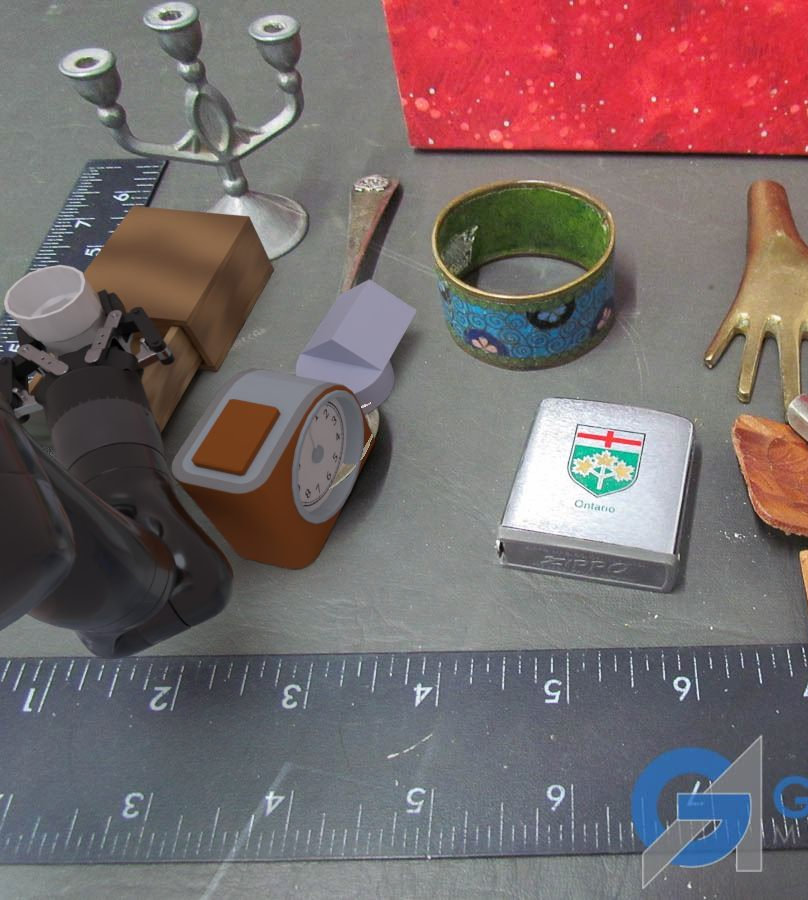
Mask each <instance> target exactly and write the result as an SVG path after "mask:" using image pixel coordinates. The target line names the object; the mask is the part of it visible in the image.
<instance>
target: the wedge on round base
mask: <svg viewBox="0 0 808 900" xmlns="http://www.w3.org/2000/svg"><path fill="white" fill-rule="evenodd" d="M417 312H418V310H417V309H415V308H414V307H412V306H411V305H410V304H409V303H406V302H405V301H404V300H402V299H400V298H399V297H397V296H396V295H394V294H392V293H391V292H390V291H388V290H386V289H385V288H384V287H382V286H380V285H379V284H377V283H376V282H374V281H373V280H372V279H370V278H369V279H367V280H365V281H363V282H361V283H359V284H358V285H356V286H354V287H352V288H350V289H348V290H346V291H344V292H342V293H341V294H338V296H337V298H336V299H335V300H334V302H333V303H332V305H331V307H330V308H329V309H328V311H327V313H326V314H325V316H324V317H323V318H322V320H321V322H320V324H319V325H318V327H317V328H316V330H315V331H314V333H313V334H312V336H311V338H310V339H309V340H308V343H307V344H305V347H304V348H303V350H302V351H301V353H300V355H299V357H298V358H297V361H296V364H295V376H300V377H305V378H311V379H316V380H321V381H326V382H332V383H337V384H342V385H344V386H346V387H347V388H348V389H350V390H351V391H353V393H354V395H355V396H356V398H357V400H358V401H359V404H360V406H362V405H364V404H368V403H370V402H371V404H370V405H368V406H366V407H364V408H362V411H363V413H364V415H366V414H368V413H371V412H372V411H374V410H375V409H377V408H378V407H380V406H381V405H382V404H383V403H384V402H385V401H386V400H387V399H388V398H389V396H390V394H391V393H392V391H393V390H394V386H395V381H396V380H395V379H396V378H395V371H394V368H393V365H392V362H391V360H390V359H391V358H392V356H393V354H394V352H395V350H396V349H397V347H398V345H399V344H400V342H401V340H402V338H403V336H404V335H405V333H406V331H407V330H408V328H409V326H410V324H411V322H412V321H413V319H414V317H415V315H416V313H417Z"/></svg>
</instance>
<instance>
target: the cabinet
mask: <svg viewBox="0 0 808 900" xmlns="http://www.w3.org/2000/svg"><path fill="white" fill-rule="evenodd" d="M255 227H256V226H254V223H253V220H252V219H251V217H250V216H249V215H241V214H240V215H239V214H228V213H218V212H206V211H197V210H196V211H194V210H185V209H183V210H182V209H174V208H162V207H161V208H160V207H150V206H139V205H133V206H131V208H130V210H129V211H128V212H127V213H126V214H125V216H124V217H123V219H122V220H121V221H120V223H119V224H118V226H117V227H116V228H115V229H114V231H113V233H112V234H111V235H110V236H109V238H108V239H107V241H106V242H105V243H104V244H103V246H102V247H101V248H100V250H99V252H98V253H97V254H96V255H95V257H94V258H93V259H92V261H91V262H90V263H89V265H88V267H86V269H85V270H84V272H83V274H84V276H85V277H86V279H87V280H88V282H89V283H90V285H91V287H92V288H93V290H94V291H95V293H96V295H97V296H98V293H97V292H99V291H102V290H104V289H105V290H106V291H107V292H108V293H109V294H110V293H112V292H114V293H115V294H116V295H117V296H118V297H119V299H120V300H121V302H122V303H123V305H124V306H125V309H126V312H127V313H130V311H131V310H132V309H133V308H135V307H142V308H143V309H144V311H145V312H146V314H147V315H148V317H149V318H150V320H151V321H152V322H153V323H162V324H171V325H181V326H183V328H184V329H185V331H186V333H187V334H188V336H189V337H190V339H191V340H192V342H193V344H194V345H195V347H196V348H197V350H198V351H199V353H200V354H201V356H202V358H203V360H202V362H201V363H200V365H199V367H198V369H197V370H200V371H201V370H202V371H212V372H218V371H219V370H220V367H221V366H222V365H223V362H224V360H225V359H226V357H227V356H228V353H229V351H230V350H231V348H232V346H233V344H234V342H235V340H236V338H237V337H238V335H239V333H240V331H241V330H242V328H243V326H244V324H245V322H246V321H247V318H248V317H249V315H250V313H251V312H252V309H254V306H255V304H256V302H257V300H258V299H259V298H260V295H261V294H262V291H263V290H264V288H265V286H266V285H267V282H268V281H269V279H270V277H271V275H272V274H273V271H274V270H275V268H274V266H273V264H272V262H271V260H270V258H269V256H268V253H267V251H266V248H265V247H264V245H263V242H262V241H261V238H260V236H259V233H258V232H257V229H256V228H255ZM98 298H99V296H98ZM99 301H100V299H99ZM100 304H101V302H100ZM101 310H102V311H103V308H102V305H101ZM103 313H104V311H103Z"/></svg>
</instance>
